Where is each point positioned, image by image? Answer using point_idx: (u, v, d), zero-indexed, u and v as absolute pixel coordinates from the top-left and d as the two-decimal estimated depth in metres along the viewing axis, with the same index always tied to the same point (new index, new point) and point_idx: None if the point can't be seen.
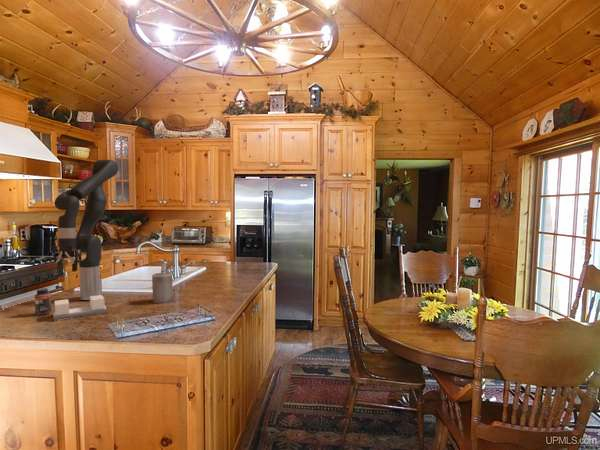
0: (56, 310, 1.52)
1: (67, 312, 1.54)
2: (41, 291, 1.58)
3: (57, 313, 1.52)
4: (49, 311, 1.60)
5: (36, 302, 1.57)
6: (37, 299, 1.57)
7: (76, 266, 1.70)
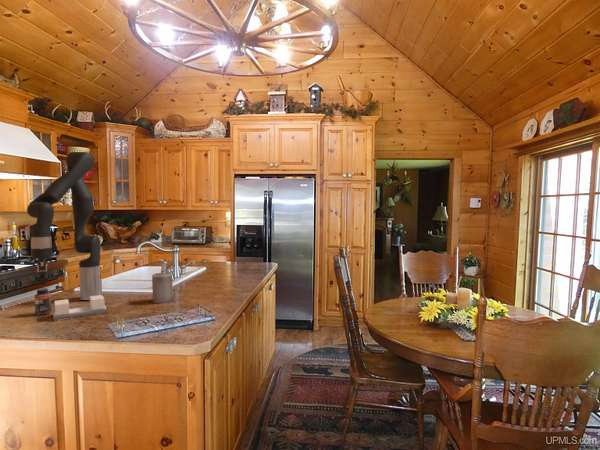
0: (56, 310, 1.52)
1: (67, 312, 1.54)
2: (41, 291, 1.58)
3: (57, 313, 1.52)
4: (49, 311, 1.60)
5: (36, 302, 1.57)
6: (37, 299, 1.57)
7: None
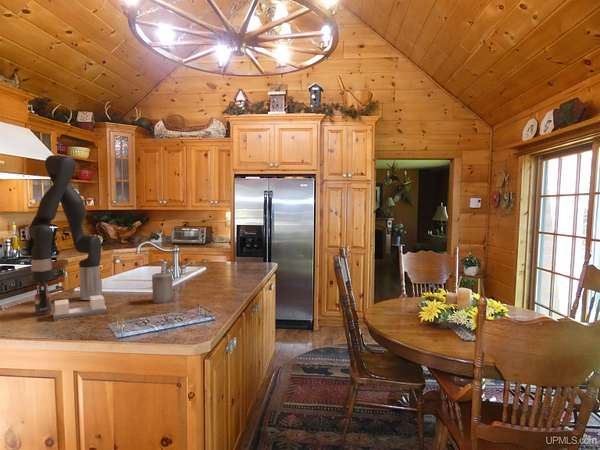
0: (56, 310, 1.52)
1: (67, 312, 1.54)
2: None
3: (57, 313, 1.52)
4: (49, 311, 1.60)
5: (36, 302, 1.57)
6: (37, 299, 1.57)
7: None
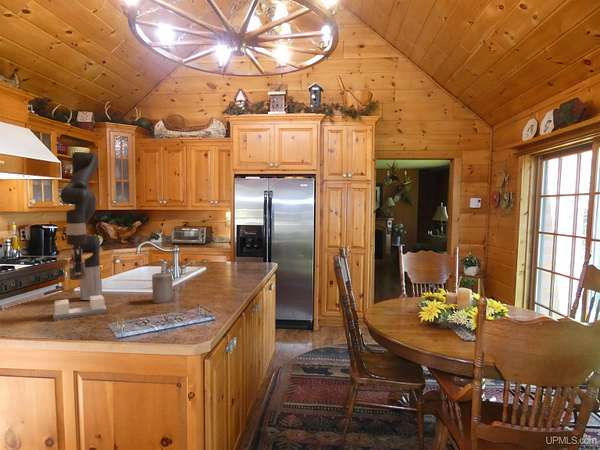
0: (56, 310, 1.52)
1: (67, 312, 1.54)
2: None
3: (57, 313, 1.52)
4: (83, 276, 1.59)
5: (71, 266, 1.56)
6: (72, 263, 1.56)
7: None
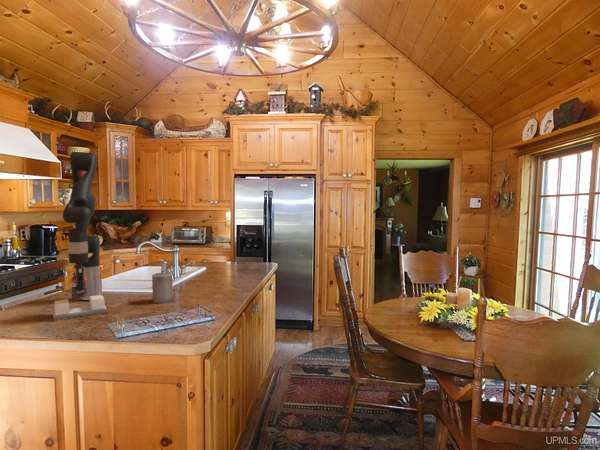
0: (56, 310, 1.52)
1: (67, 312, 1.54)
2: None
3: (57, 313, 1.52)
4: (85, 294, 1.60)
5: (73, 285, 1.57)
6: (74, 282, 1.57)
7: None
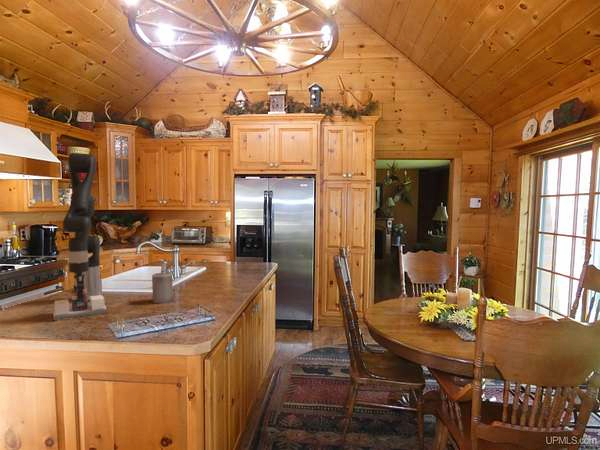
0: (56, 310, 1.52)
1: (67, 312, 1.54)
2: None
3: (57, 313, 1.52)
4: (85, 307, 1.60)
5: (73, 298, 1.57)
6: (74, 295, 1.57)
7: None
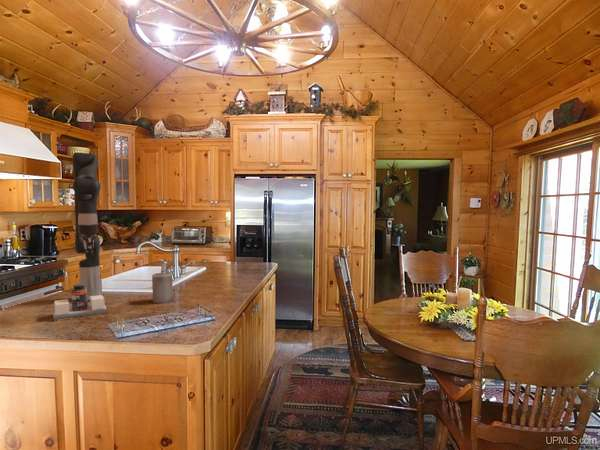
0: (56, 310, 1.52)
1: (67, 312, 1.54)
2: (78, 287, 1.58)
3: (57, 313, 1.52)
4: (85, 307, 1.60)
5: (73, 298, 1.57)
6: (74, 295, 1.57)
7: None
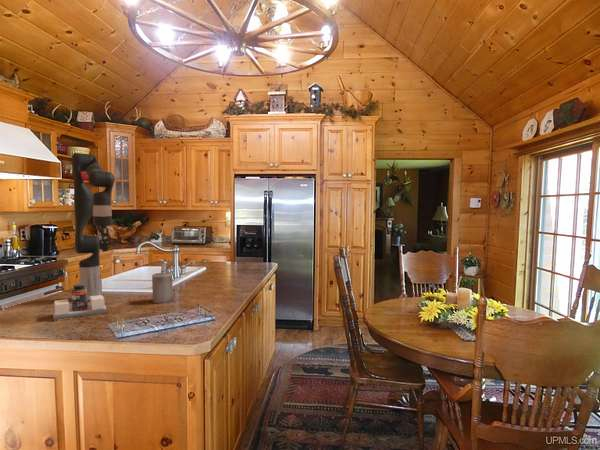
0: (56, 310, 1.52)
1: (67, 312, 1.54)
2: (78, 287, 1.58)
3: (57, 313, 1.52)
4: (85, 307, 1.60)
5: (73, 298, 1.57)
6: (74, 295, 1.57)
7: None
